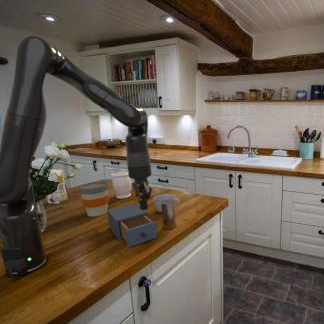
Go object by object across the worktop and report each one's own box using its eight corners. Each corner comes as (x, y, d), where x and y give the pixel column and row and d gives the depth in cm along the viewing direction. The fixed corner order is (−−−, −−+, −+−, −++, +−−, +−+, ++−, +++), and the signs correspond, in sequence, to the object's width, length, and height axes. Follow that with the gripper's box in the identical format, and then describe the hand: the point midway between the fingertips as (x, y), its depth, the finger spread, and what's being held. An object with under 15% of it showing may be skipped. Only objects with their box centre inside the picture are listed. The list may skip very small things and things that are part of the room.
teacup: (150, 212, 127) (148, 198, 126) (166, 205, 137) (164, 191, 135) (169, 217, 121) (168, 202, 119) (185, 210, 130) (184, 195, 129)
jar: (114, 195, 155) (112, 172, 152) (133, 192, 159) (130, 170, 156) (113, 200, 145) (110, 176, 142) (132, 197, 149) (130, 174, 146)
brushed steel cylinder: (172, 229, 109) (170, 204, 107) (161, 229, 109) (159, 204, 107) (176, 224, 114) (175, 199, 112) (165, 224, 114) (163, 199, 112)
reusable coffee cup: (113, 206, 136) (109, 180, 133) (109, 215, 124) (105, 187, 121) (86, 210, 131) (82, 183, 128) (80, 219, 120) (75, 190, 117)
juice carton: (58, 204, 139) (52, 172, 136) (45, 203, 141) (39, 171, 137) (69, 200, 147) (64, 169, 143) (57, 199, 148) (52, 168, 144)
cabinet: (149, 230, 109) (148, 212, 107) (118, 240, 100) (116, 220, 98) (138, 219, 119) (136, 203, 117) (109, 228, 111) (107, 210, 109)
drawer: (158, 238, 100) (157, 222, 98) (129, 248, 92) (127, 232, 91) (145, 226, 110) (144, 212, 109) (117, 234, 103) (115, 219, 101)
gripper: (122, 162, 89) (127, 207, 93) (134, 168, 80) (139, 218, 83) (143, 159, 94) (147, 202, 98) (157, 164, 85) (161, 211, 88)
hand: (144, 209), depth 91 cm, fingers closed
